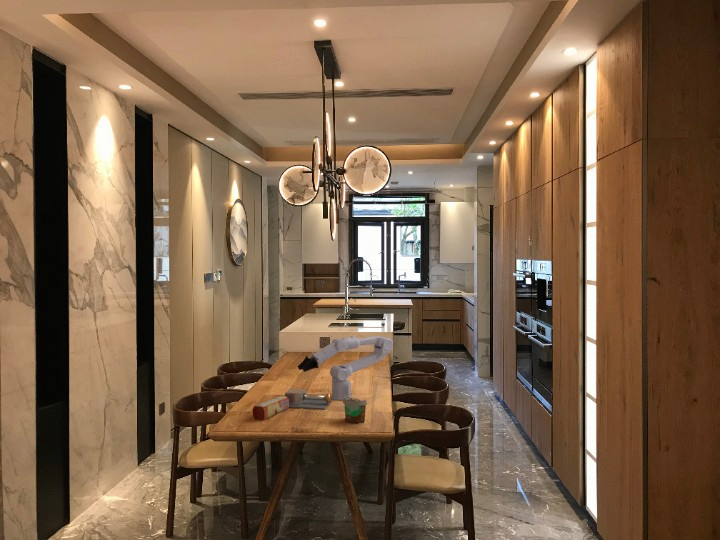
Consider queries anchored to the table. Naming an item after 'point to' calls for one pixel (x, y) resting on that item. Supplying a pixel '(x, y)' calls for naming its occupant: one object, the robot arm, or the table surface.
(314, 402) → the slate base board
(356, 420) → the food container
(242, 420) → the table surface
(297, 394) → the bearing housing
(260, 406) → the snack package
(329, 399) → the steel shaft
